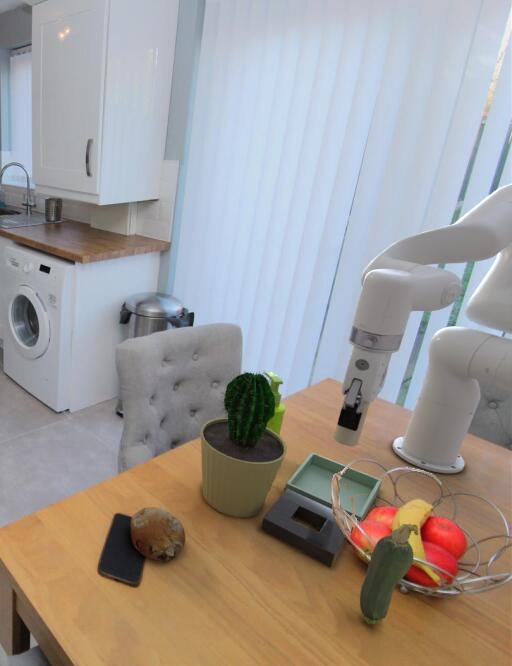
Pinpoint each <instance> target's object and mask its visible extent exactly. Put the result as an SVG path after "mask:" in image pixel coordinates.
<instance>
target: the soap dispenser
mask: <svg viewBox="0 0 512 666" xmlns="http://www.w3.org/2000/svg"><path fill="white" fill-rule="evenodd" d="M263 372H264V373H265V374H266V375H265V376H267V378H268V380H270V382H271V383H270V384H271V386H270V387H271V389H272V392H276V394H275V393H273V394H275V395H274V396H276V397H275V399H276V400H275V403H277V404H275V412H274V413H275V414H276V415H274V417H272V418H271V419H270V421H271V422H270V421H268V423H267V424H268V425H269V427H268V426H267V428H269V429H271V430H272V431H274V432H275V433H277V434H278V435H279V436H280V435H281V430H282V426H283V421H284V416H285V412H286V406H285V405H284V404H283V403H281V400H282V395H283V393H282V391H280V390H279V389H280V385H283V384H284V381H283V380H282V378H281V377H280V376H279V375H278V374H277V373H275V372H273V371H263ZM264 373H263V374H264ZM272 382H273V384H272ZM274 382H275V383H274ZM274 389H277V390H274ZM277 395H278V396H277ZM279 403H281V404H279ZM276 407H277V408H276ZM276 412H277V413H276ZM272 421H273V422H274V423H273V422H272Z"/></svg>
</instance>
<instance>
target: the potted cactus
mask: <svg viewBox="0 0 512 666" xmlns="http://www.w3.org/2000/svg"><path fill="white" fill-rule="evenodd" d="M237 371H239V369H238V370H237ZM264 372H266V369H264V370H263V373H261V371H260V370H259V371H258V372H256V373H254V372H252V371H244V372H243V373H241V372H238V374H237V375H236V376H235V375H233V378H232V376H230V375H229V376H230V377H228V378H227V377H226V379H228V380H229V378H231V379H230V381H229V382H228V381H226V382H227V383H226V387H225V390H224V392H221V394H223V395H222V397H223V400H222V401H221V400H219V401H220V404H221V405H222V406H223V408H221V409H222V410H221V412H222V413H223V414H224V411H226V416H224V417H217V418H213V419H210V420H208V421H206V422H205V423H204V424H203V425H202V426H201V430H200V444H201V445H200V450H201V451H200V452H201V485H202V486H201V488H202V496H203V497H204V499H205V501H206V503H208V504H209V505H210V507H212V508H213V509H215V510H216V511H218V512H220V513H222V514H224V515H227V516H230V517H235V518H250V517H253V516H255V515H257V514H258V513H260V511H261V510H262V507H263V505H264V503H265V500H266V499H267V496H268V494H269V492H270V491H271V488H272V485H273V483H274V481H275V479H276V476H277V474H278V472H279V470H280V468H281V465H282V464H283V461H284V459H285V457H286V455H287V453H288V445H287V444H286V442H285V440H284V439H283V437H282V436H280V435H278V434H277V433H275V432H274V431H272V430H271V429H269V428H267V426H268V427H269V425H268V424H267V423H268V421H270V419H271V418H272V417H274V415H276V414H275V413H274V412H275V404H277V403H275V400H276V399H275V397H276V396H274V395H275V394H276V392H272V389H271V387H270V386H271V380H270V379H268V376H267V375H266V374H265V373H264ZM274 383H275V382H274ZM272 384H273V382H272ZM274 390H277V389H274ZM273 393H275V394H273ZM277 396H278V395H277ZM279 404H281V402H280V403H279ZM276 408H277V407H276ZM276 413H277V412H276ZM270 422H271V421H270ZM272 422H273V421H272ZM273 423H274V422H273Z"/></svg>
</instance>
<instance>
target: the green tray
mask: <svg viewBox="0 0 512 666" xmlns="http://www.w3.org/2000/svg"><path fill="white" fill-rule="evenodd" d="M347 466H348V465H346V464H343V463H340V462H338V461H336V460H333V459H330V458H328V457H326V456H324V455H320V454H318V453H316V452H313V451H311V452H310V453H309V455H307V457H306V459H304V461H303V462H302V463H301V464H300V466H299V467H298V468H297V470H295V472H294V473H293V474H292V475H291V477H290V478H289V479H288V481H287V482H286V483H285V487H284V492H285V491H286V489H289V490H291V491H294V492H296V493H298V494H300V495H302V496H304V497H307V498H309V499H311V500H313V501H315V502H318V503H320V504H322V505H324V506H326V507H328V508H331V509H332V502H331V494H330V490H331V481H332V478H333V475H334V474H335V473H338V472H340V471H342V470H343V469H344V468H345V467H347ZM348 467H349V468H348V469H347V470H346V471H345V473H343V475H342V479H340V480H339V483H340V502H341V507H342V508H343V509H344V510H345V511H346V512H347V513H348V514H349V515H350V516H351V515H352V514H353V511H352V503H351V499H350V496H353V497H354V496H355V495H357V494H361V495H358V496H355V497H354V507H355V517H356V518H357V520H358V521H359V522H360V521H361V520H363V521H364V519H365V517H366V515H368V512H369V510H370V508H371V506H372V505H373V503H374V501H375V499H376V497H377V496H378V494H379V492H380V489H381V486H382V483H383V479H381V478H379V477H376V476H374V475H372V474H369V473H366V472H363V471H361V470H359V469H356V468H354V467H351V466H348ZM345 483H346V484H347V486H348V489H349V490H348V489H347V487H346V485H345ZM334 490H335V489H334ZM284 492H283V493H284ZM334 494H335V491H334ZM362 494H368V495H362ZM369 495H370V496H369ZM334 496H335V495H334ZM373 496H376V497H375V498H374V497H373Z"/></svg>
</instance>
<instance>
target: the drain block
mask: <svg viewBox="0 0 512 666" xmlns="http://www.w3.org/2000/svg"><path fill="white" fill-rule="evenodd" d="M284 491H285V490H284ZM296 519H299V520H301V521H303V522H305V523H307V524H309V525H311V526H313V527H315V528H317V529H319V531H317V530H314V529H312V528H311V527H308V526H306V525H304V524H302V523H301V522H298V521H296ZM340 520H341V522H342V524H343V525H344V519H343V516H340ZM260 530H261V531H262V532H264V533H265V534H268V535H270V536H271V537H274V538H275V539H277V540H279V541H281V542H283V543H285V544H286V545H288V546H290V547H292V548H294V549H296V550H298V551H300V552H301V553H303V554H305V555H307V556H309V557H311V558H313V559H314V560H316V561H318V562H320V563H322V564H324V565H326V566H328V567H329V568H332V566H333V565H334V563H335V562H336V559H337V558H338V556H339V554H340V552H341V550H342V549H343V547H344V545H345V544H346V542H347V540H348V538H347V539H346V537H345V535H344V534H343V532H342V530H341V529H340V527H339V525H338V524H337V522H336V519H335V517H334V514H333V509H331V508H328V507H326V506H324V505H322V504H320V503H318V502H315V501H313V500H311V499H309V498H307V497H304V496H302V495H300V494H298V493H296V492H294V491H291V490H289V489H286V491H285V492H283V493H282V494H281V495H280V496H279V498H278V499H277V501H276V502H275V503H274V504H273V505H272V507H271V508H270V509H269V510H268V512H267V513H266V514H265V516H264V517H263V519H262V523H261V527H260Z"/></svg>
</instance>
